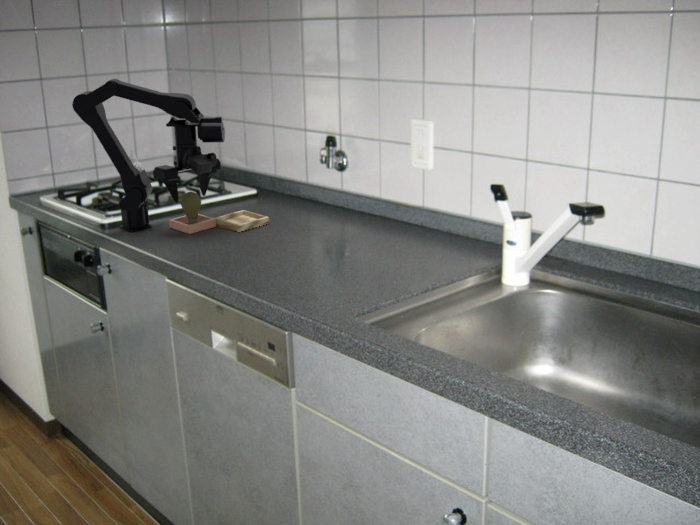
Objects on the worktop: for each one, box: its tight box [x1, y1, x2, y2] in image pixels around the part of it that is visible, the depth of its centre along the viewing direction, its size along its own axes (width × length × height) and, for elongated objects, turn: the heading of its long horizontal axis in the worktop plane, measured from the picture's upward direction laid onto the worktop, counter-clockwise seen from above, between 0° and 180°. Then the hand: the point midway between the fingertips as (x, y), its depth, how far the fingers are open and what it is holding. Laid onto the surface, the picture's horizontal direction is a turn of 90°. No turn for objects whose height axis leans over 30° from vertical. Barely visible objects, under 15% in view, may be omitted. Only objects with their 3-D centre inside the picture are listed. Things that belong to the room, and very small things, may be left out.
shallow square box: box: [168, 213, 217, 235], centre depth 215 cm, size 9×9×2 cm
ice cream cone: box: [128, 149, 143, 172], centre depth 245 cm, size 5×5×15 cm
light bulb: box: [180, 191, 202, 225], centre depth 214 cm, size 6×6×10 cm
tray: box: [214, 209, 270, 233], centre depth 217 cm, size 11×11×2 cm
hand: (190, 198), depth 212 cm, fingers open, 9 cm apart
